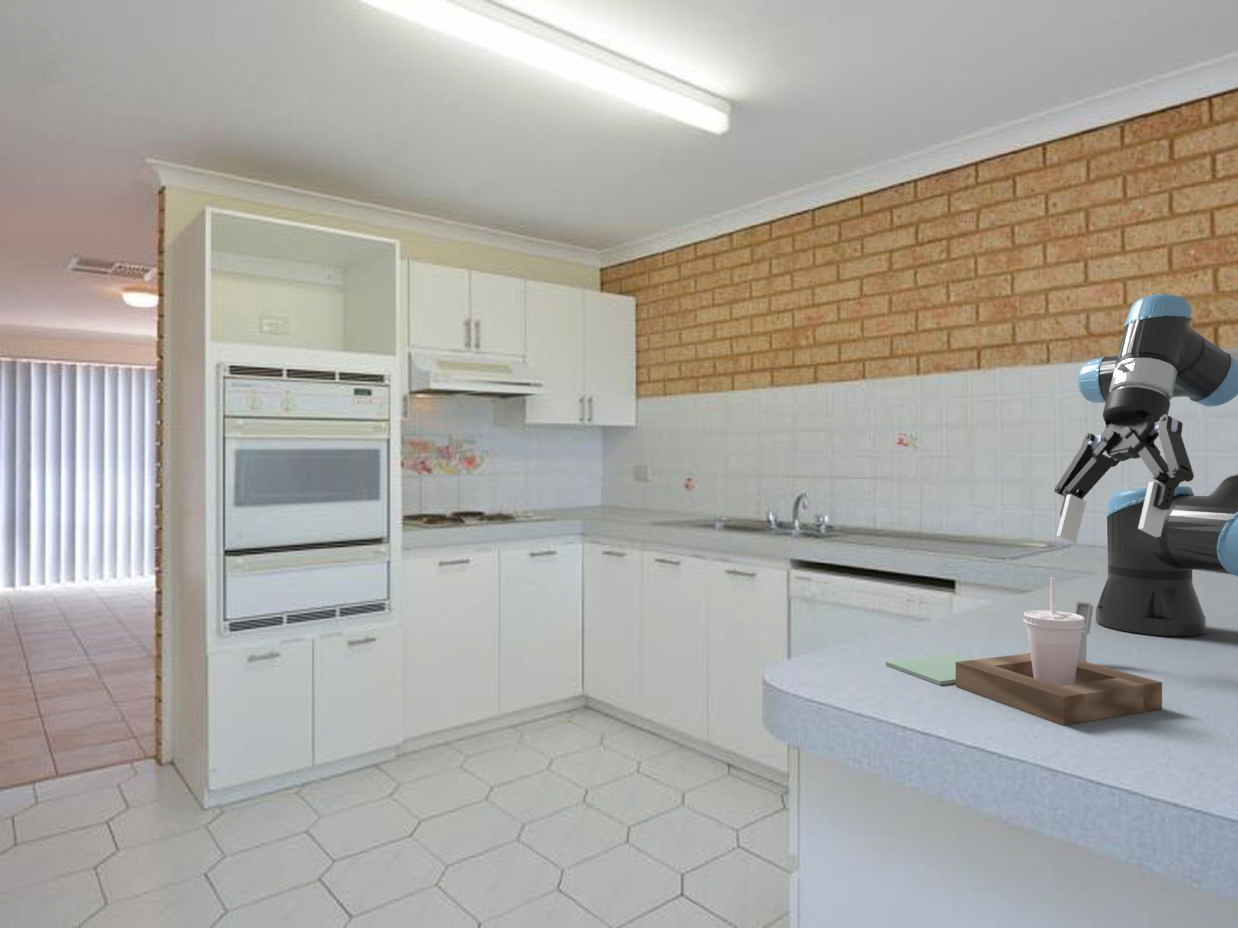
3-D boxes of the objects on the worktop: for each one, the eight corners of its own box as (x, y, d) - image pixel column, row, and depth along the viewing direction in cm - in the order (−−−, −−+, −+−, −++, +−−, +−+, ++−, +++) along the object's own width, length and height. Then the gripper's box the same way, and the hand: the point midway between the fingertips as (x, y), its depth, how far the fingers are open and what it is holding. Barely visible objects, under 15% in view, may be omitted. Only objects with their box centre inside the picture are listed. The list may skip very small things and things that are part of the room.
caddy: (1046, 674, 101) (1046, 651, 101) (1162, 708, 87) (1162, 682, 87) (955, 686, 95) (955, 661, 95) (1063, 725, 81) (1063, 696, 81)
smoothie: (1078, 691, 93) (1078, 575, 93) (1091, 708, 87) (1092, 583, 87) (1019, 686, 95) (1019, 573, 95) (1028, 702, 89) (1028, 581, 89)
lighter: (1077, 668, 104) (1077, 608, 104) (1063, 665, 105) (1063, 606, 105) (1093, 658, 109) (1093, 601, 109) (1079, 656, 110) (1079, 600, 110)
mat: (955, 657, 109) (955, 653, 109) (1013, 675, 100) (1013, 671, 100) (885, 665, 105) (885, 661, 105) (940, 685, 96) (940, 681, 96)
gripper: (1050, 406, 120) (1016, 532, 116) (1200, 360, 96) (1165, 516, 91) (1089, 426, 121) (1057, 551, 117) (1248, 386, 97) (1216, 541, 92)
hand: (1104, 536), depth 104 cm, fingers open, 13 cm apart
